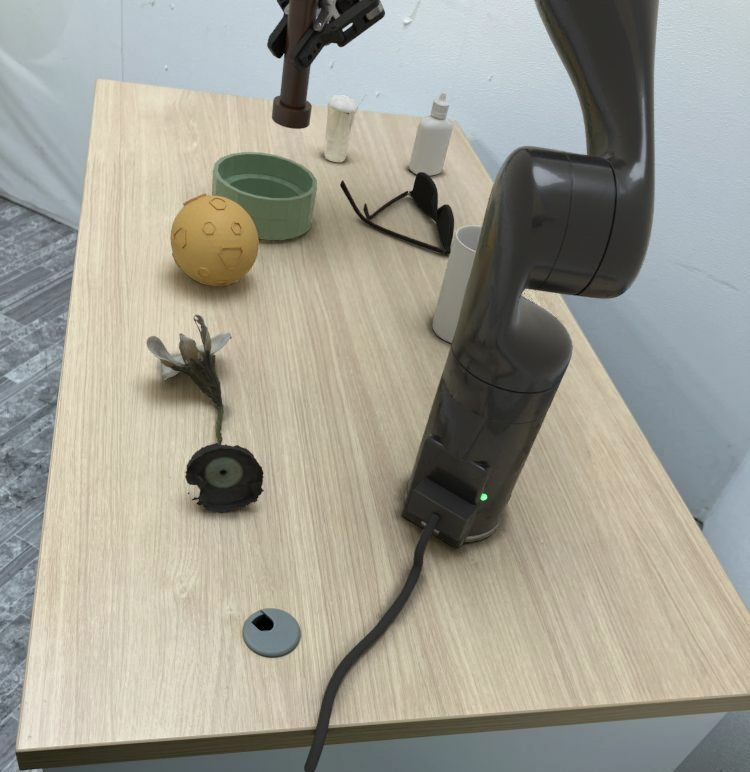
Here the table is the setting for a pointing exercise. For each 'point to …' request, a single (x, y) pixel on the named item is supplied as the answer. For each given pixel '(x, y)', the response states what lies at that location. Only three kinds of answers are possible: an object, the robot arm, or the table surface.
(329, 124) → the milkshake
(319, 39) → the robot arm
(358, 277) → the table surface
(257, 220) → the bowl
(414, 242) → the sunglasses
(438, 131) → the eye dropper bottle
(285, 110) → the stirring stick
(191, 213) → the stress ball
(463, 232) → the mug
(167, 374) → the artificial flower
